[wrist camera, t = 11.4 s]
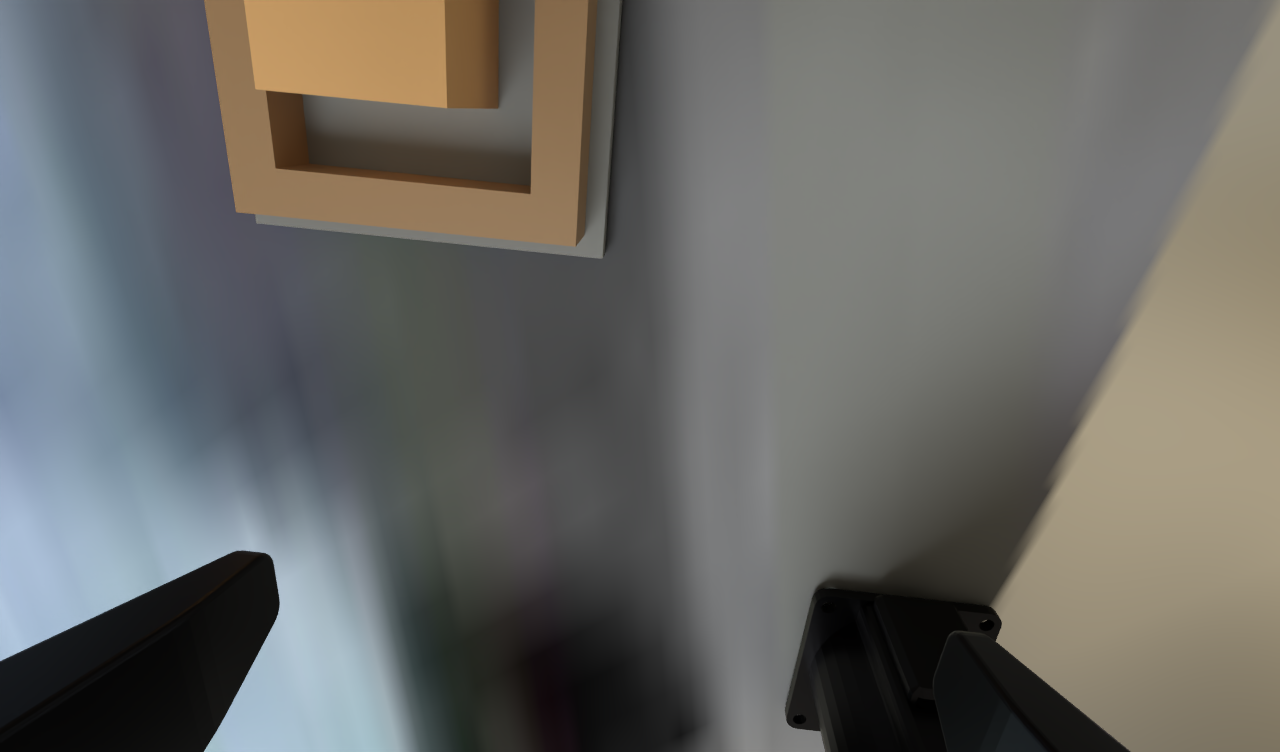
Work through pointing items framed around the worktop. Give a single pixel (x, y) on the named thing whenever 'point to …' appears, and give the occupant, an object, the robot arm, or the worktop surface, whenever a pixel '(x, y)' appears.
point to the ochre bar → (378, 50)
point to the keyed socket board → (438, 141)
